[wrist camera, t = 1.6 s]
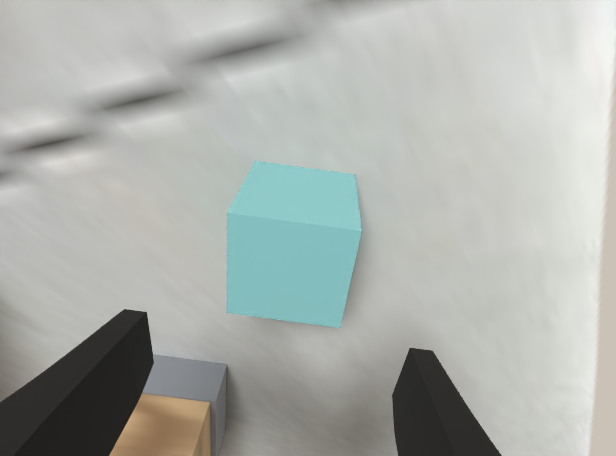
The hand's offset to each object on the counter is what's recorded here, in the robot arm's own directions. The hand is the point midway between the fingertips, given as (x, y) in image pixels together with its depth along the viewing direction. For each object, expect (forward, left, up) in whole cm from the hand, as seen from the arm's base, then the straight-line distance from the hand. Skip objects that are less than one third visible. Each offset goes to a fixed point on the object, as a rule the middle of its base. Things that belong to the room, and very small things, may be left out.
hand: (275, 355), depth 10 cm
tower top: (-7, -15, -6) cm, 17 cm away
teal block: (0, 0, -9) cm, 9 cm away
